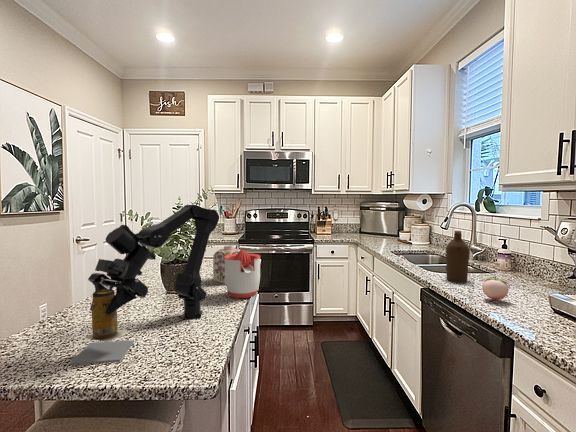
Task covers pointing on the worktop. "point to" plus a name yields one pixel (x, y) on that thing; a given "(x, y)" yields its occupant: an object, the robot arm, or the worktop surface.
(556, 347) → the worktop surface
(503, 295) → the decorative fruit
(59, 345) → the worktop surface
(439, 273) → the worktop surface
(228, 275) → the citrus juicer
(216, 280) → the decorative jar
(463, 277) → the olive oil
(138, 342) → the worktop surface
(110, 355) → the mat
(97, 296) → the condiment
